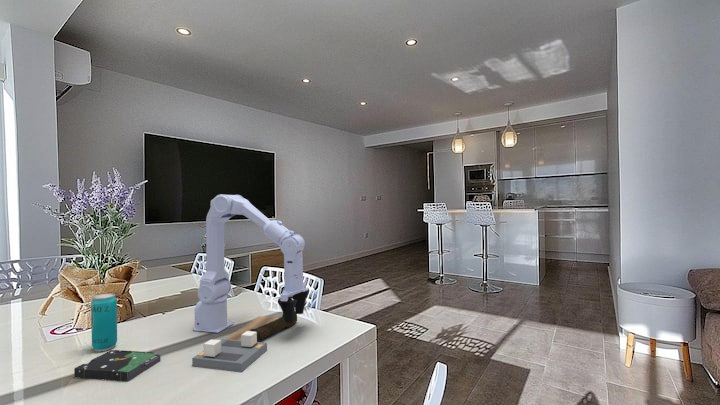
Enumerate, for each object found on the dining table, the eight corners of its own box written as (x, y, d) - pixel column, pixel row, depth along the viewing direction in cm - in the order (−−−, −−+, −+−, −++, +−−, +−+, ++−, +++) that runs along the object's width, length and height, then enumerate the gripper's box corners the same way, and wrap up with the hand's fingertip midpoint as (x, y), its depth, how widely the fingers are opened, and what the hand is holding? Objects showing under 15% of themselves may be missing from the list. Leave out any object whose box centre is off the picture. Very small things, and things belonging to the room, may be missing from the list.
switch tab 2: (241, 346, 90) (241, 334, 90) (247, 341, 92) (247, 330, 92) (251, 347, 89) (251, 335, 89) (256, 342, 92) (256, 331, 92)
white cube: (203, 355, 84) (203, 343, 84) (211, 350, 87) (211, 339, 87) (214, 356, 83) (214, 344, 83) (221, 351, 86) (221, 340, 86)
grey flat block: (192, 365, 84) (192, 357, 84) (222, 345, 95) (222, 338, 95) (241, 371, 80) (241, 363, 80) (267, 350, 92) (266, 342, 92)
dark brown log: (258, 344, 96) (258, 328, 96) (248, 341, 98) (248, 325, 98) (303, 324, 112) (303, 310, 112) (294, 321, 114) (294, 308, 114)
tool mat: (217, 346, 97) (217, 343, 97) (259, 319, 119) (259, 316, 119) (244, 349, 95) (244, 345, 95) (282, 320, 117) (282, 318, 117)
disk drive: (73, 380, 79) (128, 383, 77) (72, 368, 79) (128, 371, 77) (111, 359, 89) (161, 362, 87) (111, 349, 89) (161, 351, 87)
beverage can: (95, 346, 96) (94, 294, 96) (119, 342, 98) (118, 292, 98) (88, 354, 91) (87, 299, 91) (114, 350, 93) (113, 297, 93)
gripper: (295, 280, 96) (296, 327, 96) (314, 269, 110) (315, 310, 110) (273, 279, 97) (274, 325, 97) (294, 269, 111) (295, 309, 111)
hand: (294, 317), depth 104 cm, fingers open, 7 cm apart
